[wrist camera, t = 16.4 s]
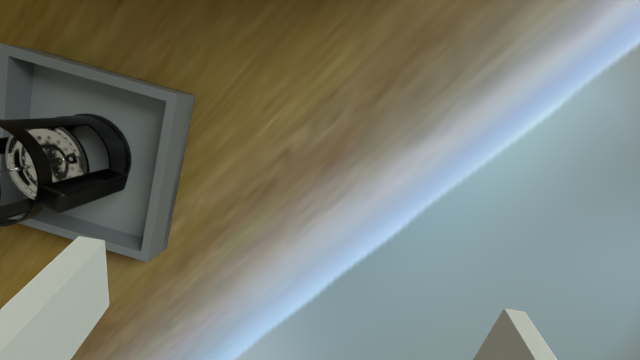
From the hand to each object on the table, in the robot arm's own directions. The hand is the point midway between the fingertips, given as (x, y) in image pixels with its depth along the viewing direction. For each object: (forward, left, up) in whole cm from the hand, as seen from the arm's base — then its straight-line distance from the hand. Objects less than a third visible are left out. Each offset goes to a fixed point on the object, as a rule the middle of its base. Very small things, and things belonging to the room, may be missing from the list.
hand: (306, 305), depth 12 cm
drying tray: (+6, -27, -28) cm, 39 cm away
